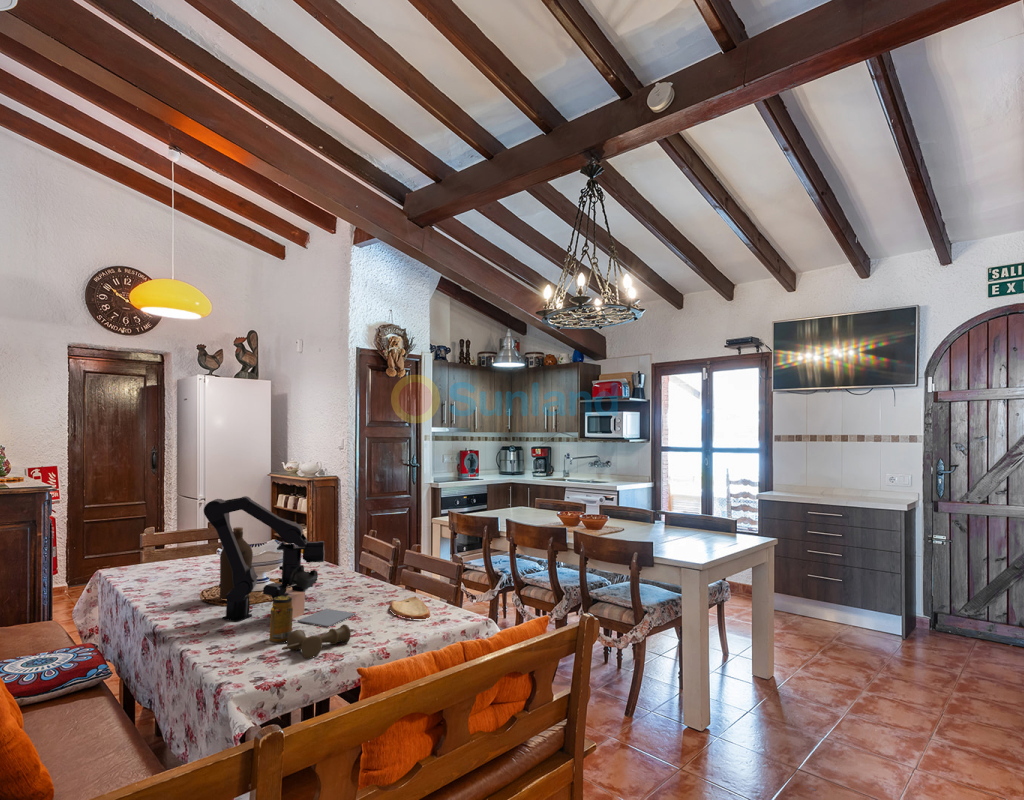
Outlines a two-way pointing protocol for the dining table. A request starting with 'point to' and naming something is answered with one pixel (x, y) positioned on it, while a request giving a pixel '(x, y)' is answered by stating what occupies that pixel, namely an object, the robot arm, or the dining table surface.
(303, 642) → the kendama
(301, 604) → the salmon cube
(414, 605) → the slice of bread
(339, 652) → the dining table surface
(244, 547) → the olive oil
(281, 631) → the condiment
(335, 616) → the grey panel
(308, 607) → the dining table surface
